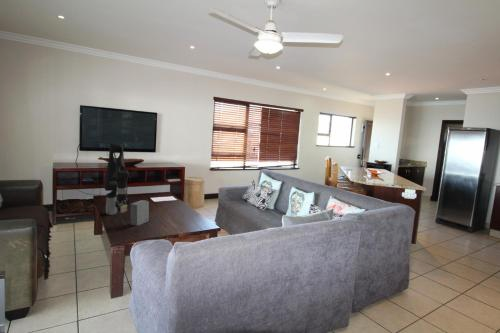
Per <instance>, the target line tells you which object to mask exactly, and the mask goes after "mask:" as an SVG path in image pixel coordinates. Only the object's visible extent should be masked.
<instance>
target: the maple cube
mask: <svg viewBox="0 0 500 333" xmlns="http://www.w3.org/2000/svg"><path fill="white" fill-rule="evenodd" d="M126 212H128V205H125V204H122V205H121V206H120V212H118V211H117V213H121V214H123V213H126Z"/></svg>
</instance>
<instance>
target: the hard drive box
mask: <svg viewBox="0 0 500 333" xmlns="http://www.w3.org/2000/svg"><path fill="white" fill-rule="evenodd" d="M149 205H150V204H149V201H148V200H146V199H145V200H144V199H143V200H142V199H141V200H139V201H135V202H133V203H130V225H131V226H132V225H133V226H135V227H138V226H140V225H143V224H145V223H147V222H149V220H150V219H149V217H150V216H149V214H150V213H149V212H150V211H149V208H150V207H149Z"/></svg>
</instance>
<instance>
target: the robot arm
mask: <svg viewBox="0 0 500 333" xmlns="http://www.w3.org/2000/svg"><path fill="white" fill-rule="evenodd" d="M114 154H119V155H118V157H117V158H115V156H114ZM124 156H125V155H124V146H123V144H122V143H121V142H120V143H119V142H111V143H110V144H109V151H108V161H107V169H106V175H105V176H106V177H105V181H104V186H103V187H104V190H105V191H107V192H108V193H106V197H105V198H106V199H105V201H106V203H105V214H106V215H108V216H109V215H111V216H113V215H116V214H117V213H120V206H121V205H122V204H125V205H127V206H128V205H129V203H130V198H129V197H128V189H127V186H128V180H129V176H130V173H129V171H128V170H126V165H125V160H124V159H125V157H124ZM114 176H115V178H116V179H118V180H119V179H120V180H119V181H118V182H117V181H116V180H112V179H113V178H114ZM121 179H122V180H121ZM109 191H110V192H109ZM117 211H118V212H117Z"/></svg>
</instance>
